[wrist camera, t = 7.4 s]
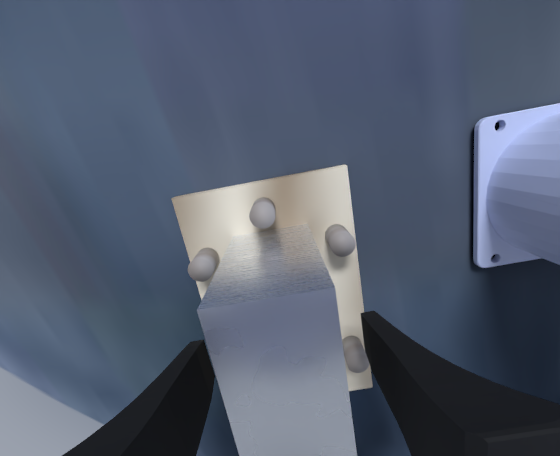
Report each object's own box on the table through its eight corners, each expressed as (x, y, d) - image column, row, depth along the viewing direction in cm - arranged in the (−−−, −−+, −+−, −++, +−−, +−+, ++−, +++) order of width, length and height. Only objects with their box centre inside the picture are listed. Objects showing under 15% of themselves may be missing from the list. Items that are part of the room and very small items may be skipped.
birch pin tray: (344, 164, 14) (356, 167, 12) (369, 379, 18) (382, 410, 16) (175, 196, 15) (158, 204, 13) (235, 401, 18) (230, 433, 16)
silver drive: (308, 223, 15) (337, 287, 8) (327, 349, 17) (362, 484, 10) (232, 236, 15) (194, 310, 8) (260, 359, 17) (250, 499, 10)
